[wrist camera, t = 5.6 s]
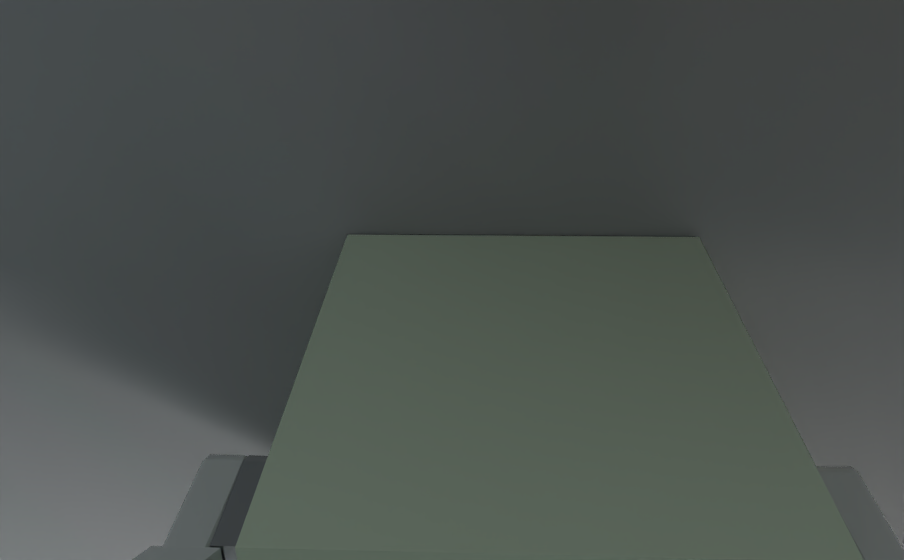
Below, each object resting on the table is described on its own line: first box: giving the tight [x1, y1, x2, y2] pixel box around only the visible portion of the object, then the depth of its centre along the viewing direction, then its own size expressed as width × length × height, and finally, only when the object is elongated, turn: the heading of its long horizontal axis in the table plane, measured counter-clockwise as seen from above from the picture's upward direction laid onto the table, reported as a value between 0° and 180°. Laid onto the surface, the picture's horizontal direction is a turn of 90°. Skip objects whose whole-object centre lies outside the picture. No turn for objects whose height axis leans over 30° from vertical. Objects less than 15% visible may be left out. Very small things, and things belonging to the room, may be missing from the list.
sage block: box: [235, 235, 863, 560], centre depth 11 cm, size 5×5×6 cm
